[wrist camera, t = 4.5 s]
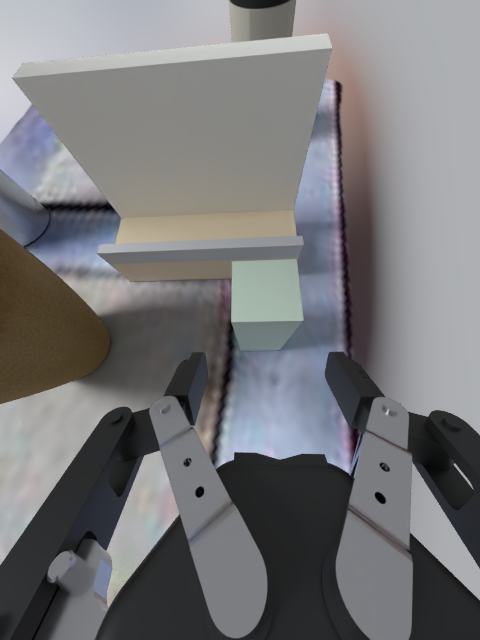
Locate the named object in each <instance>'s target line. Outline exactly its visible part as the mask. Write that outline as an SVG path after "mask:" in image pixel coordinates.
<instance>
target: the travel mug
mask: <svg viewBox="0 0 480 640" xmlns="http://www.w3.org/2000/svg"><path fill="white" fill-rule="evenodd" d="M295 5H296V0H229V7H230V25H231V42H232V43H235V42H245V41H255V40H265V39H276V38H286V37H292V32H293V23H294V14H295Z"/></svg>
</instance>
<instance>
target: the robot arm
mask: <svg viewBox="0 0 480 640" xmlns="http://www.w3.org/2000/svg"><path fill="white" fill-rule="evenodd" d="M48 222H49V213H48V211H47V209H46V208H45V207H44V206H42V205H41V204H40V203H39V202H38V201H37V200H36V199H35V198H33V197H32V196H31V195H30V194H28V193H27V192H26V191H25V190H24V189H23V188H21V187H20V186H19V185H18V184H17V183H16V182H14V181H13V180H12V179H11V178H10V177H9V176H7V175H6V174H5V173H4V172H3V171H2V170H0V229H1V230H3V231H4V232H5V233H7V234H8V235H9V236H10V237H12V238H13V239H14V240H16V241H17V242H18V243H19V244H21V245H22V246H25V245H28V244H29V243H31V242H33V241H34V240H35V239H37V238H38V237H39V236H40V235H41V234H42V233H43V232H44V230H45V229H46V227H47V225H48ZM207 375H208V372H207V364H206V357H205V353H204V352H193V353H192V355H191V357H190V359H189V360H184V361H183V362H182V363H181V364H180V365H179V366H178V368H177V370H176V373H175V374H174V376H173V378H172V380H171V382H170V384H169V386H168V388H167V390H166V392H165V394H164V396H163V397H161V398H159V399H158V400H156V401H155V402H154V403H153V404H152V405H151V407H150V408H148V409H145V410H141V411H137V412H134V413H132V411H131V409H130V408H128V407H119V408H116V409H114V410H112V411H110V412H109V413H107V414H106V415H105V416H104V417H103V418H102V419H101V421H100V422H99V424H98V425H97V426H96V428H95V429H94V431H93V432H92V434H91V435H90V437H89V438H88V439H87V441H86V442H85V444H84V445H83V447H82V448H81V450H80V451H79V452H78V454H77V455H76V457H75V458H74V460H73V461H72V463H71V464H70V466H69V467H68V468H67V470H66V471H65V473H64V474H63V476H62V477H61V479H60V480H59V481H58V483H57V484H56V486H55V487H54V489H53V490H52V492H51V493H50V494H49V496H48V497H47V499H46V500H45V502H44V503H43V505H42V506H41V507H40V509H39V510H38V512H37V513H36V515H35V516H34V518H33V519H32V521H31V522H30V523H29V525H28V526H27V528H26V529H25V531H24V532H23V534H22V535H21V536H20V538H19V539H18V541H17V542H16V544H15V545H14V547H13V548H12V549H11V551H10V552H9V554H8V555H7V557H6V558H5V560H4V561H3V562H2V564H1V565H0V640H480V600H479V599H478V598H477V597H476V596H475V595H473V593H472V592H471V591H469V590H468V589H467V588H466V587H465V586H464V585H463V584H462V583H461V582H460V581H459V580H458V579H457V578H456V577H455V576H454V575H453V574H452V573H451V572H450V571H449V570H448V569H447V568H446V567H445V566H444V565H443V564H442V563H441V562H440V561H438V559H437V558H435V556H433V555H432V554H431V553H430V552H429V551H428V550H427V549H426V548H425V547H424V546H423V545H422V544H421V543H420V542H419V541H418V540H417V539H416V538H415V537H414V536H413V535H412V534H411V533H410V507H411V476H412V475H411V474H412V462H413V464H414V465H415V467H416V468H417V470H418V471H419V473H420V475H421V476H422V478H423V479H424V481H425V482H426V484H427V486H428V487H429V489H430V490H431V492H432V493H433V495H434V497H435V498H436V500H437V501H438V503H439V505H440V506H441V508H442V509H443V511H444V512H445V514H446V515H447V517H448V519H449V520H450V522H451V524H452V525H453V527H454V528H455V530H456V532H457V533H458V535H459V536H460V538H461V539H462V541H463V543H464V544H465V546H466V547H467V549H468V551H469V552H470V554H471V555H472V557H473V558H474V560H475V562H476V563H477V565H478V566H479V568H480V435H479V434H478V433H477V432H476V431H475V430H474V429H473V428H472V427H471V426H470V425H468V424H467V423H466V422H465V421H464V420H462V419H460V418H459V417H457V416H455V415H453V414H451V413H448V412H445V411H439V410H435V411H432V412H431V413H430V415H429V416H428V417H426V416H422V415H418V414H414V413H410V412H407V410H406V409H405V408H404V407H403V406H402V405H401V404H399V403H398V402H396V401H394V400H392V399H389V398H386V397H385V396H384V395H383V393H382V392H381V391H380V390H379V388H378V387H377V386H376V384H375V383H374V382H373V381H372V380H371V379H370V377H369V376H368V374H367V373H365V371H364V369H363V368H362V367H361V366H360V365H359V364H358V363H356V362H355V361H353V360H349V359H348V357H347V356H346V355H345V353H344V352H329V355H328V359H327V364H326V369H325V377H326V381H327V383H328V385H329V387H330V389H331V391H332V393H333V395H334V397H335V399H336V401H337V403H338V405H339V407H340V409H341V411H342V413H343V415H344V417H345V419H346V421H347V423H348V425H349V427H350V428H352V429H359V430H360V432H361V434H360V437H359V440H358V444H357V447H356V451H355V455H354V458H353V462H352V466H351V469H350V472H349V474H348V473H347V472H345V471H344V470H342V469H340V468H339V467H337V466H335V465H332V464H330V463H327V460H326V457H325V454H300V455H296V456H293V457H289V458H286V459H282V460H278V459H275V458H271V457H268V456H265V455H261V454H258V453H237V452H235V453H234V460H232V461H229V462H227V463H225V464H223V465H221V466H220V467H218V468H217V469H216V470H215V468H214V466H213V464H212V462H211V460H210V458H209V456H208V454H207V452H206V450H205V448H204V446H203V444H202V443H201V441H200V439H199V437H198V435H197V433H196V431H195V429H194V428H193V427H191V426H195V423H196V419H197V415H198V411H199V408H200V404H201V400H202V397H203V393H204V389H205V385H206V382H207ZM159 450H160V451H161V455H162V458H163V461H164V464H165V468H166V471H167V474H168V477H169V481H170V484H171V487H172V490H173V494H174V497H175V500H176V503H177V507H178V510H179V513H180V514H179V515H178V517H177V518H176V519H175V521H174V522H173V523H172V524H171V526H170V527H169V528H168V529H167V531H166V532H165V533H164V535H163V536H162V537H161V538H160V540H159V541H158V542H157V544H156V545H155V546H154V547H153V549H152V550H151V551H150V552H149V554H148V555H147V556H146V558H145V559H144V560H143V561H142V563H141V564H140V565H139V567H138V568H137V569H136V570H135V572H134V573H133V574H132V576H131V577H130V578H129V579H128V581H127V582H126V583H125V584H124V586H123V587H122V588H121V590H120V591H119V593H118V594H117V596H116V597H115V599H114V600H113V602H112V604H111V605H110V607H109V609H108V606H107V590H108V585H109V581H110V577H111V572H112V560H111V557H110V555H109V554H108V553H107V552H106V550H107V548H108V545H109V543H110V540H111V538H112V535H113V533H114V530H115V528H116V525H117V523H118V520H119V518H120V515H121V513H122V510H123V508H124V505H125V502H126V500H127V497H128V495H129V492H130V490H131V487H132V485H133V482H134V480H135V477H136V475H137V472H138V470H139V467H140V465H141V462H142V460H143V457H144V455H147V454H150V453H153V452H156V451H159ZM454 463H455V464H456V465H457V466H458V467H459V469H460V470H461V471H462V472H463V473H464V475H465V476H466V477H467V478H468V480H469V481H470V482H471V484H472V486H473V489H474V490H473V489H472V488H471V486H470V485H469V484H468V483H467V481H466V480H465V479H464V478H463V476H462V475H461V474H460V472H459V471H458V470H457V469H456V467H455V466H454V465H453V464H454Z"/></svg>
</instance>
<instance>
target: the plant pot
mask: <svg viewBox="0 0 480 640" xmlns="http://www.w3.org/2000/svg"><path fill="white" fill-rule="evenodd" d="M109 348H110V333H109V331H108V329H107V327H106V326H105V325H104V323H103V322H102V321H101V319H100V318H99V317H98V316H97V315H96V313H95V312H94V311H93V310H92V309H91V308H90V307H89V306H88V305H87V304H86V302H85V301H84V300H83V299H82V298H81V297H80V296H79V295H78V294H77V293H76V292H75V291H74V290H73V289H71V288H70V287H69V286H68V285H67V284H66V283H65V282H64V281H63V280H62V279H61V278H60V277H59V276H57V275H56V274H55V273H54V272H53V271H52V270H51V269H49V268H48V267H47V266H46V265H45V264H44V263H42V262H41V261H40V260H39V259H38V258H36V257H35V256H34V255H33V254H32V253H30V252H29V251H28V250H27V249H26V248H24V247H23V246H22V245H21V244H19V243H18V242H17V241H16V240H14V239H13V238H12V237H10V236H9V235H8V234H7V233H5V232H4V231H3V230H1V229H0V404H2V403H6V402H9V401H13V400H16V399H20V398H23V397H27V396H30V395H33V394H36V393H40V392H43V391H46V390H49V389H52V388H55V387H58V386H61V385H63V384H66V383H69V382H71V381H74V380H77V379H79V378H82V377H84V376H86V375H88V374H90V373H92V372H93V371H94V370H96V369H97V368H98V367H99V366H100V365H101V363H102V362H103V361H104V359H105V358H106V356H107V354H108V351H109Z"/></svg>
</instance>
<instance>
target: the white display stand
mask: <svg viewBox="0 0 480 640" xmlns="http://www.w3.org/2000/svg"><path fill="white" fill-rule="evenodd" d="M331 51H332V46H331V43H330V39H329V36H328V34H317V35H307V36H297V37H286V38H276V39H265V40H255V41H245V42H235V43H225V44H214V45H205V46H194V47H184V48H174V49H164V50H154V51H144V52H133V53H123V54H113V55H103V56H92V57H82V58H72V59H62V60H52V61H41V62H32V63H22V64H21V66H20V67H19V69H18V70H17V72H16V73H15V74H14V76H13V77H12V79H13V80H14V81H15V83H16V84H17V85H18V86H19V88H20V89H21V90H22V91H23V93H24V94H25V95H26V97H27V98H28V99H29V101H30V102H31V103H32V104H33V106H34V107H35V108H36V109H37V111H38V112H39V113H40V115H41V116H42V117H43V118H44V120H45V121H46V122H47V124H48V125H49V126H50V127H51V129H52V130H53V131H54V133H55V134H56V135H57V136H58V138H59V139H60V140H61V141H62V143H63V144H64V145H65V147H66V148H67V149H68V150H69V152H70V153H71V154H72V156H73V157H74V158H75V159H76V161H77V162H78V163H79V165H80V166H81V167H82V168H83V170H84V171H85V172H86V173H87V175H88V176H89V177H90V179H91V180H92V181H93V182H94V184H95V185H96V186H97V188H98V189H99V190H100V191H101V193H102V194H103V195H104V196H105V198H106V199H107V200H108V202H109V203H110V204H111V205H112V207H113V208H114V209H115V211H116V212H117V213H118V214H119V216H120V217H121V222H120V226H119V230H118V234H117V238H116V242H115V244H99V248H98V251H97V254H98V255H99V256H101V257H102V258H103V259H104V260H105V261H106V262H108V263H109V264H110V265H111V266H112V267H114V268H115V269H116V270H117V271H118V272H119V273H121V274H122V275H123V276H124V277H125V278H126V279H128V280H129V281H130V282H134V281H166V280H197V279H229V278H232V261H258V260H286V259H297V262H298V259H299V257H300V254H301V251H302V249H303V246H304V242H303V236H297V234H296V226H295V218H294V206H295V201H296V197H297V193H298V189H299V185H300V181H301V176H302V172H303V168H304V164H305V160H306V155H307V151H308V147H309V143H310V139H311V135H312V130H313V126H314V122H315V118H316V114H317V109H318V105H319V101H320V97H321V93H322V89H323V84H324V80H325V76H326V72H327V68H328V63H329V59H330V55H331Z"/></svg>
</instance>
